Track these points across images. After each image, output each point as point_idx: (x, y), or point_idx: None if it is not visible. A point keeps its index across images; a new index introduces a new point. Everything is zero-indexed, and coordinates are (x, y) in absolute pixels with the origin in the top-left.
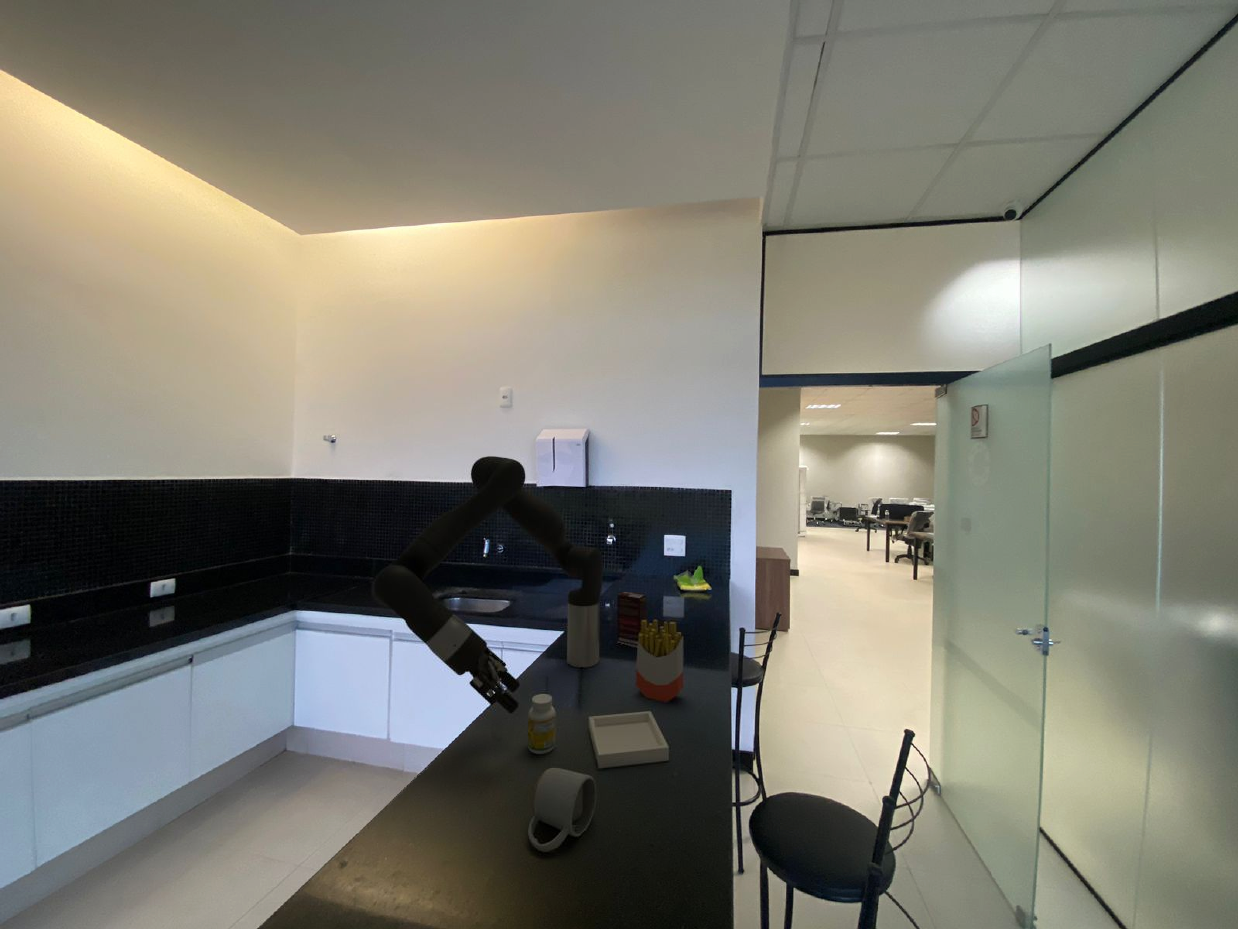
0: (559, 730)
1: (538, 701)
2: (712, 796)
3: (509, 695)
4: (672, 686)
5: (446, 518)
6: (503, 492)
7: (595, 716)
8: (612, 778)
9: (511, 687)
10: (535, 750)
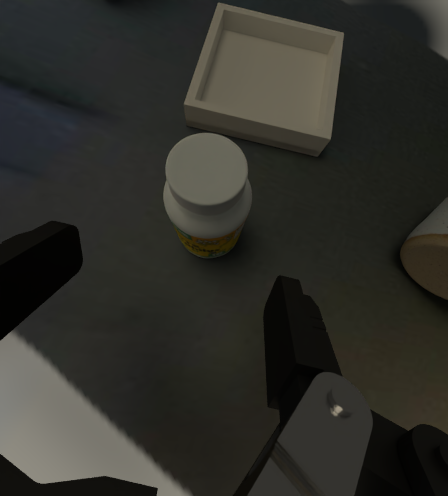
0: (163, 178)
1: (227, 185)
2: (420, 52)
3: (304, 331)
4: None
5: None
6: None
7: (189, 92)
8: (348, 147)
9: (62, 269)
10: (232, 247)
